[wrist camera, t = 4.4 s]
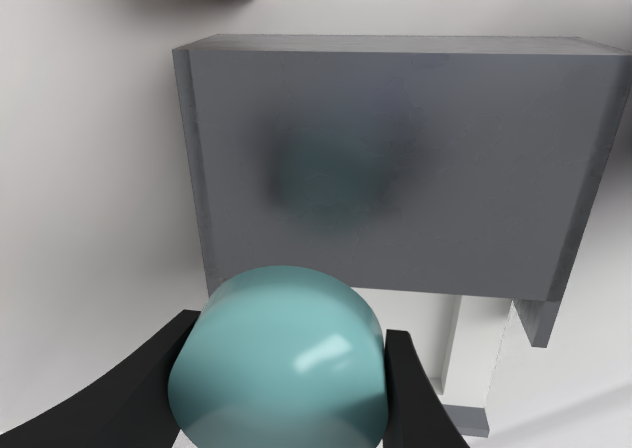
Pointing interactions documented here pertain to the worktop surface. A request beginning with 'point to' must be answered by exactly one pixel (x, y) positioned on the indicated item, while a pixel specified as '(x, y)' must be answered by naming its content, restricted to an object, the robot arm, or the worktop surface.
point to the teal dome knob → (282, 365)
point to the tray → (449, 345)
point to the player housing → (402, 158)
